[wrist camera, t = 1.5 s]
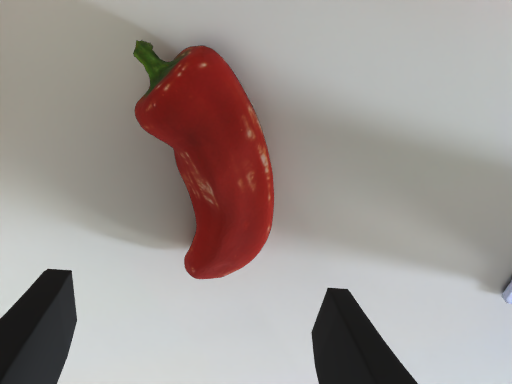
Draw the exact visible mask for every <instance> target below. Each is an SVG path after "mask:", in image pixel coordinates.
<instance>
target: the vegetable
mask: <svg viewBox="0 0 512 384" xmlns="http://www.w3.org/2000/svg"><path fill="white" fill-rule="evenodd" d="M152 49H153V46H152V45H151V43H147V42H144V41H142V40H141V41H137V40H136V47H135V50H134V53H133V54H134V56H135V57H136V58H137V59H138V60H139V61H140V62H141V63H142V64H143V65H144V67H145V69H146V71H147V73H148V74H149V78H150V87H149V90H148V91H147V92H146V94H145V95H144V96H143V97H142V98H141V99H140V100H139V101H138V102H137V104H136V106H135V116H136V119H137V121H138V122H139V124H140V126H141V127H142V128H143V129H144V130H145V131H147V132H148V133H150V134H151V135H153V136H154V137H156V138H158V139H159V140H161V141H163V142H165V143H167V144H168V145H170V146H171V147H172V148H173V149H174V153H175V159H176V164H177V167H178V170H179V172H180V175H181V177H182V178H183V180H184V183H185V185H186V187H187V190H188V192H189V195H190V198H191V201H192V205H193V208H194V212H195V217H196V223H197V228H196V234H195V236H194V239H193V242H192V244H191V247H190V249H189V251H188V252H187V254H186V255H185V259H184V264H185V269H186V271H187V272H188V273H189V274H190V275H191V276H192V277H194V278H196V279H211V278H220V277H224V276H226V275H228V274H230V273H232V272H234V271H236V270H238V269H240V268H242V267H244V266H245V265H246V264H248V263H249V262H250V261H252V260H253V259H254V258H255V256H256V255H257V254H258V253H259V252H260V250H261V248H262V247H263V245H264V244H265V242H266V240H267V238H268V235H269V233H270V230H271V226H272V218H273V209H274V189H273V173H272V168H271V162H270V158H269V153H268V149H267V145H266V142H265V139H264V135H263V132H262V129H261V126H260V123H259V120H258V118H257V116H256V113H255V111H254V109H253V107H252V105H251V103H250V101H249V99H248V97H247V95H246V93H245V91H244V90H243V88H242V86H241V84H240V82H239V81H238V79H237V77H236V76H235V74H234V72H233V71H232V70H231V68H230V67H229V65H228V64H227V63H226V62H225V60H224V59H223V58H222V57H221V56H220V55H219V54H218V53H217V52H215V51H214V50H213V49H211V48H209V47H206V46H192V47H189V48H186V49H185V50H183V51H182V52H180V54H179V55H178V56H177V57H176V58H175V59H174V60H173V61H171V62H165V61H163V60H161V59H160V58H159V57H158V56H157V55H156V54H155V52H154V51H153V50H152Z"/></svg>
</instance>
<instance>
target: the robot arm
mask: <svg viewBox="0 0 512 384" xmlns="http://www.w3.org/2000/svg"><path fill="white" fill-rule="evenodd" d="M502 298H503V299H504V301H505V302H506V303H510V304H512V281H511V283H510V284H509V285H508V287H507V288H506V290H505V291H504V292H503V294H502ZM76 322H77V316H76V307H75V298H74V289H73V280H72V271H71V270H57V269H47V270H46V271H44V272H43V273H42V274H41V275H40V277H39V278H38V279H37V280H36V281H35V282H34V283H33V284H32V286H31V287H30V288H29V289H28V290H27V291H26V292H25V293H24V294H23V296H22V297H21V298H20V299H19V300H18V301H17V302H16V303H15V304H14V305H13V306H12V307H11V308H10V309H9V310H8V312H7V313H6V314H5V315H4V316H3V317H2V318H1V319H0V384H57V382H58V379H59V377H60V374H61V372H62V369H63V366H64V364H65V361H66V359H67V356H68V352H69V349H70V345H71V341H72V338H73V334H74V330H75V326H76ZM312 342H313V352H314V360H315V368H316V372H317V377H318V381H319V384H418V383H417V382H416V381H415V380H414V378H413V377H412V376H411V375H410V373H409V372H408V371H407V370H406V369H405V367H404V366H403V365H402V364H401V362H400V361H399V360H398V358H397V357H396V356H395V354H394V353H393V352H392V350H391V349H390V348H389V346H388V345H387V344H386V342H385V341H384V340H383V338H382V337H381V336H380V334H379V333H378V332H377V330H376V329H375V327H374V326H373V325H372V323H371V322H370V320H369V319H368V317H367V316H366V315H365V313H364V312H363V310H362V309H361V307H360V306H359V304H358V303H357V301H356V300H355V299H354V297H353V296H352V294H351V293H350V292H349V290H348V289H338V288H328V289H327V292H326V294H325V297H324V300H323V303H322V305H321V308H320V311H319V313H318V316H317V319H316V322H315V324H314V327H313V330H312Z"/></svg>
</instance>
